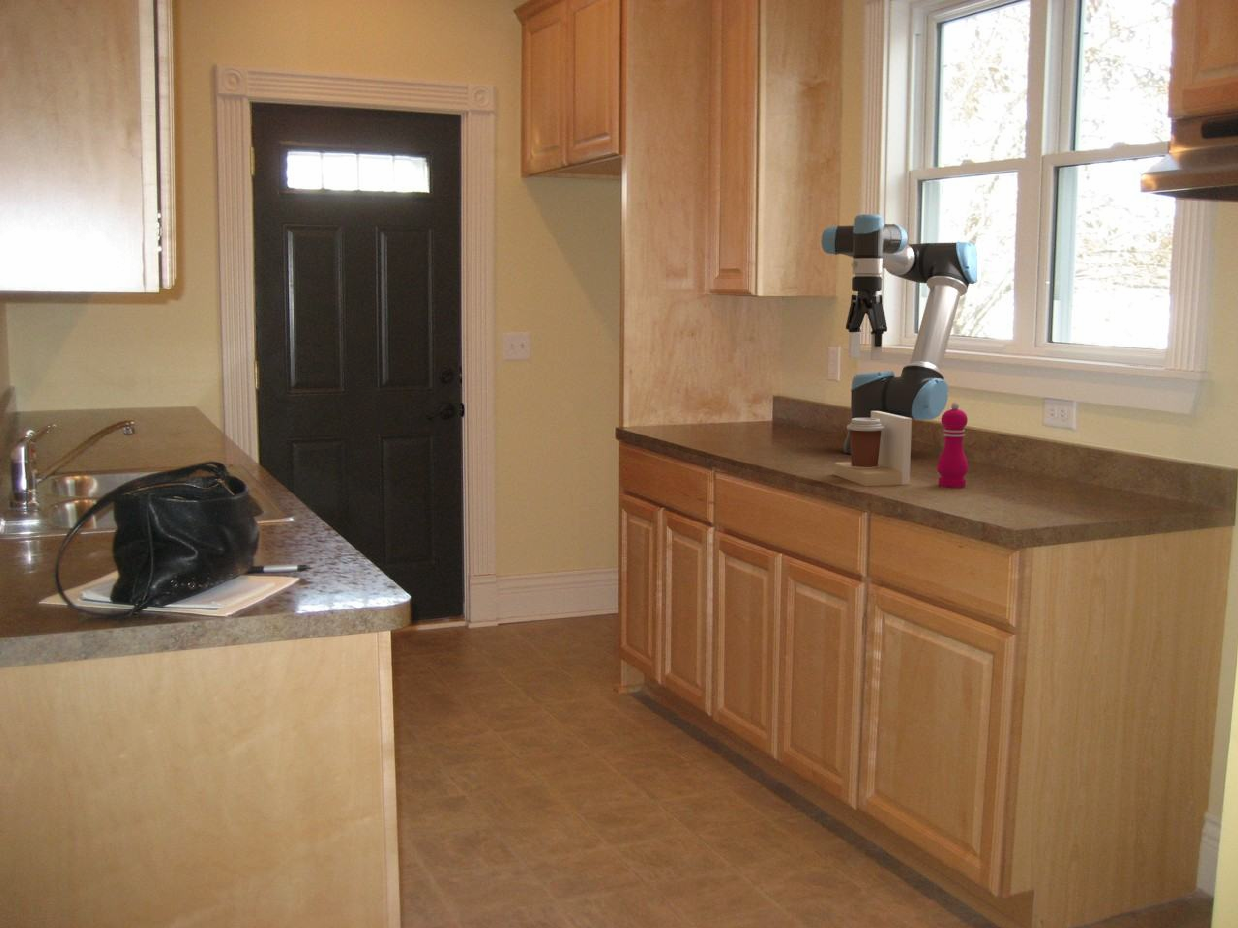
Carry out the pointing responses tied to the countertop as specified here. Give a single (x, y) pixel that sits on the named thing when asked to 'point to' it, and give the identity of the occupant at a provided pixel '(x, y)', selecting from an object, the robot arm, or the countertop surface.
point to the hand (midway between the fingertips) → (864, 358)
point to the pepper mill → (953, 449)
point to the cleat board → (885, 455)
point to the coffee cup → (865, 442)
